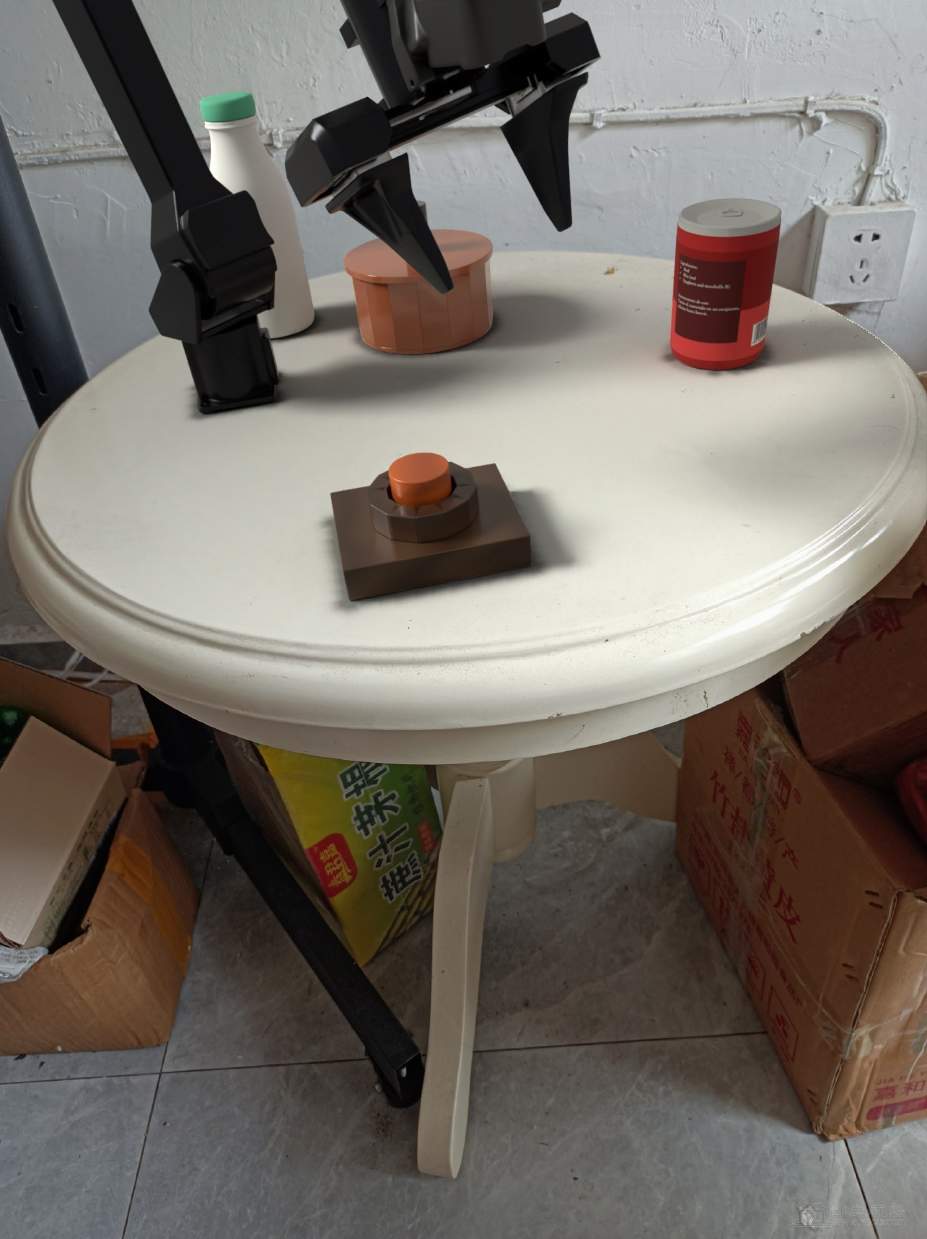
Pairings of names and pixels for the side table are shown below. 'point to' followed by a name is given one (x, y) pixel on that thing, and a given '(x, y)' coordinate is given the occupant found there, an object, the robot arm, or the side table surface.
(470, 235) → the jar lid
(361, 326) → the jar
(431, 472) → the button
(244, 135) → the milk bottle
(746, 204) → the canned food
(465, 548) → the block
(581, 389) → the side table surface
